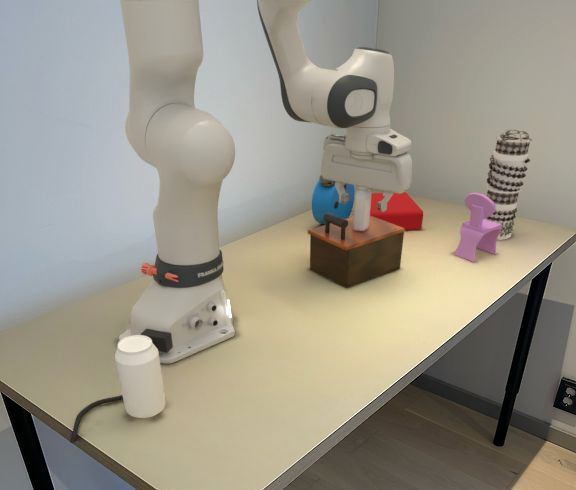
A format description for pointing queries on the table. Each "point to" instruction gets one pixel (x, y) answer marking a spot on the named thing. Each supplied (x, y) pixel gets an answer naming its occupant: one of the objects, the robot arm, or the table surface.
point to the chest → (356, 260)
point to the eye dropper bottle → (361, 209)
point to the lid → (353, 231)
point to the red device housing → (398, 211)
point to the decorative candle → (507, 177)
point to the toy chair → (478, 228)
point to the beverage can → (140, 376)
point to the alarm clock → (330, 200)
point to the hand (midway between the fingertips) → (362, 206)
